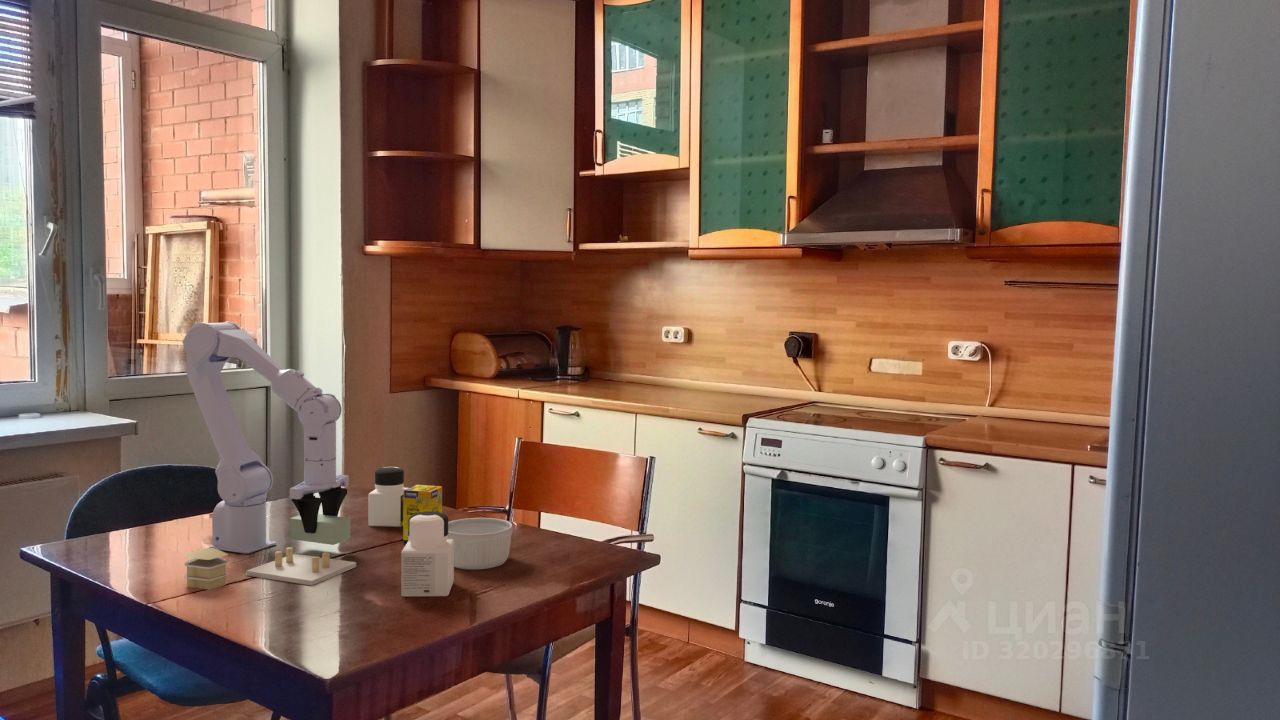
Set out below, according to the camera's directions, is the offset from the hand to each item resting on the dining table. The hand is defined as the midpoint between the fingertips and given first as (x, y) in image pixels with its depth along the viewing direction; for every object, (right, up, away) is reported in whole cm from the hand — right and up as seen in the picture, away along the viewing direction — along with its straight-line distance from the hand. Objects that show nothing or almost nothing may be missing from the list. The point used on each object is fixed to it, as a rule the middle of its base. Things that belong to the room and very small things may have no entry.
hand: (320, 529), depth 177 cm
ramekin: (+31, -6, -3) cm, 31 cm away
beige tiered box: (-12, -6, -20) cm, 24 cm away
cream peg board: (+1, -5, -12) cm, 13 cm away
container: (+25, -7, -21) cm, 33 cm away
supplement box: (+17, -5, +10) cm, 20 cm away
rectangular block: (0, -2, 0) cm, 2 cm away
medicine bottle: (+7, -3, +24) cm, 26 cm away
